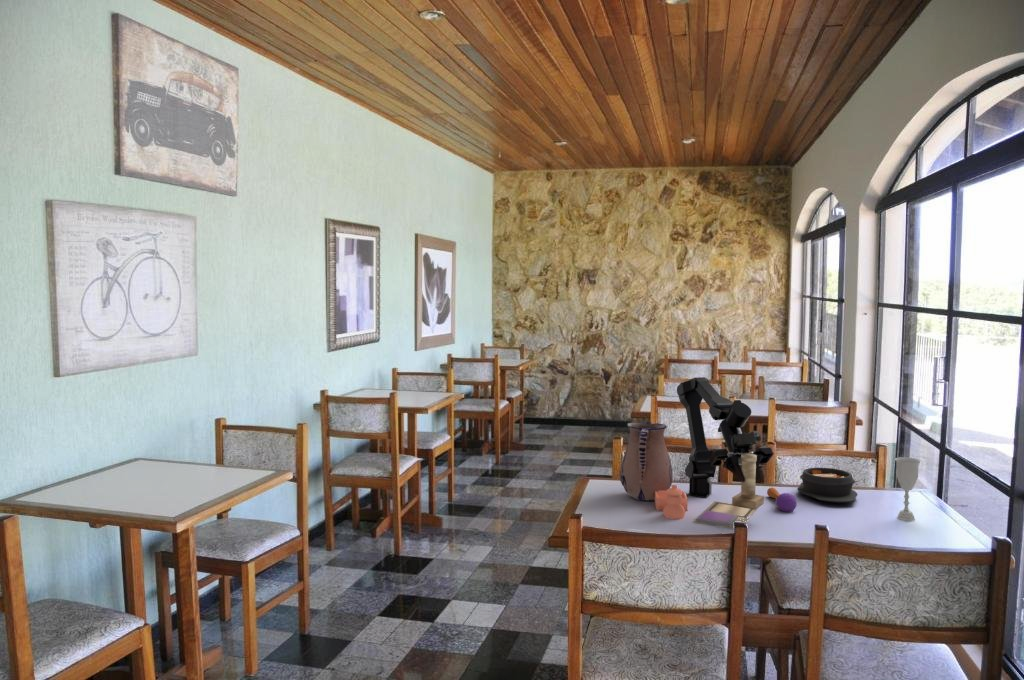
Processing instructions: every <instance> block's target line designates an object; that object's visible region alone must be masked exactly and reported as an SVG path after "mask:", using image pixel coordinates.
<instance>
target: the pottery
mask: <svg viewBox="0 0 1024 680" xmlns="http://www.w3.org/2000/svg"><path fill="white" fill-rule="evenodd" d="M654 506H655V509H656V511H662V512H663V516H664V518H667V519H670V520H671V519H672V520H680V519H681V520H682V519H683V518H685V515H686V512H688V497H687V494H686V492H685V491H684V490H681V489H680V488H678V485H676V484H671V487H670V489H668V490H667V491H661V490H660V491H658V492H656V491H655V500H654Z"/></svg>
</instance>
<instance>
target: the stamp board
mask: <svg viewBox="0 0 1024 680" xmlns="http://www.w3.org/2000/svg"><path fill="white" fill-rule="evenodd" d="M759 508H760V507H758V508H757V509H756V510H754V509H748V508H743V507H738V506H733V505H732V502H731V503H730V502H723V501H713V502H712V503H711V504H710V505H709V506H708V507H707V508H706V509H705V510H708V511H715V512H722V513H729V514H736V515H738V519H737V520H736V521H741V522H745V521H746V522H745V524H746V523H747V522H748V521H747V520H750V518H748V519H747V517H749V516H751V517H752V516H753V515H754V514H755V512H756V511H757V510H758V509H759ZM705 510H704V511H705ZM704 511H702V512H701V513H700V514H699V515H701V514H702V513H703V512H704ZM741 515H743V516H741ZM743 518H744V519H743ZM740 519H741V520H740ZM743 520H744V521H743ZM692 523H695V524H696V523H697V524H702V525H709V526H716V527H721V528H722V527H723V528H727V529H728V528H729V529H734V528H733V524H732V525H731V526H730V527H726V526H719V525H713V524H706V523H700V522H696V518H695V519H694V520H692Z"/></svg>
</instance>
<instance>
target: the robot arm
mask: <svg viewBox="0 0 1024 680" xmlns="http://www.w3.org/2000/svg"><path fill="white" fill-rule="evenodd" d="M676 393H677V396H678V398H679V399H678V400H679V402H680V403H681V404H682V406H683V407H684V408H685V413H686V419H687V425H688V429H689V431H688V432H689V436H690V437H689V438H690V442H691V447H692V448H691V452H690V453H689V456H688V463H687V464H686V467H685V469H684V473H685V477H687V478H689V479H688V480H689V485H688V487H689V490H688V491H689V492H688V493H687V495H688V496H690V497H691V496H692V497H700V498H708V497H709V496H710V495H712V481H711V478H715V476H716V475H715V474H716V469H717V467H720V466H721V465H722V461H723V465H722V468H723V469H726V470H728V471H729V472H730V473H731V474H733V475H734V476H735V477H736V478H737V479H738V480H740V481H742V482H744V481H745V478H744V475H743V473H742V467H741V466H740V464H739V460H741V454H755V455H757V461H756V482H758V481H759V480H760V477H759V476H760V475H759V472H760V471H759V468H760V467H759V466H760V465H761V464H768V463H769V461H770V460H771V459H772V457H773V456H774V455H775V452H774V450H773V448H772V447H771V446H758V448H756V450H755V451H750V450H752V449H753V445H756V444H757V443H759V442H761V441H762V438H761V436H762V435H761V433H760V431H759V430H752V431H751V432H747V433H746V432H745V433H744V432H742V429H741V428H743V427H744V426H745V424H747V423H746V422H747V421H748V420H749V418H750V417H751V415H752V409H751V407H749V406H748V405H747V404H746V403H744V402H742V400H741V399H734V400H733V401H732V400H730V399H729V398H726V397H724V396H722V395H720V393H719V392H718V391H717V390H716V388H715V387H713V385H712V384H711V383H710V382H709V379H708V377H704V376H702V377H700V376H699V377H693V378H691V379H689V380H686V381H682V382H680V383H679V384H678V386H676ZM702 400H703V401H704V402H705V404H707V405H708V407H709V410H708V413H709V414H710V416H711V418H712V419H713V420H714V421H721V422H720V423H719V427H718V428H717V432H718V433H721V434H722V438H723V439H724V444H723V447H724V448H716V449H714V450H710V449H709V448H708V445H707V440H706V435H705V430H704V428H705V427H704V422H703V418H702V417H703V415H702V411H701V403H702Z"/></svg>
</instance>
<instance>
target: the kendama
mask: <svg viewBox="0 0 1024 680" xmlns="http://www.w3.org/2000/svg"><path fill="white" fill-rule="evenodd" d="M766 494H767V496H768V497H769V496H770V497H771V498H773V499H775V500H776V503H775V504H776V507H777V508H778V509H779V510H780V511H781V512H786V513H791V511H792V512H793V511H794V510H795V509H796V507H797V502H798V501H797V500H796V499H797V498H796V497H795V496H794V495H793V494H791V493H787V492H784V493H781V494H780V493H779V491H778V490H777V489H776V488H775V487H769V488H768V489H767V490H766Z"/></svg>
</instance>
